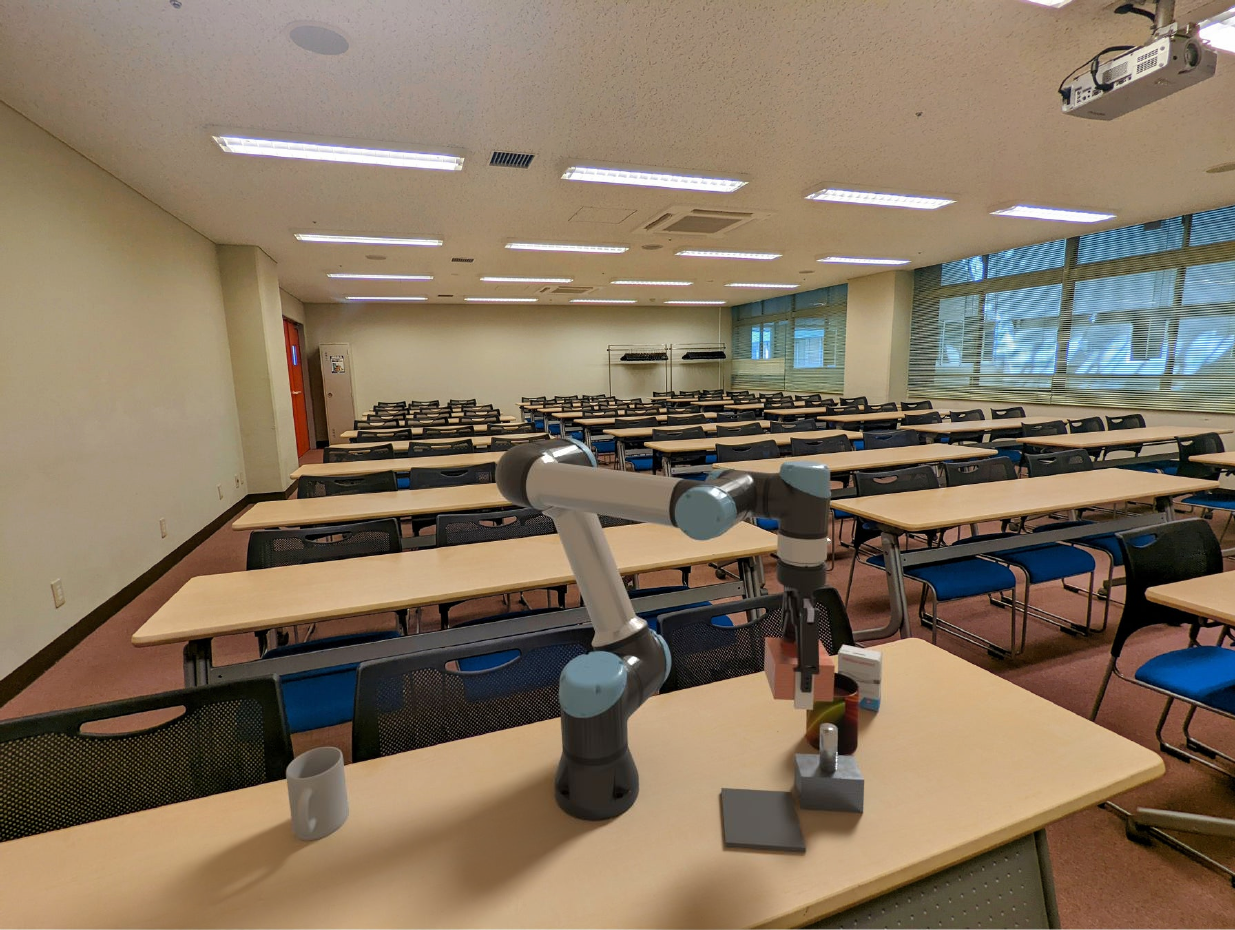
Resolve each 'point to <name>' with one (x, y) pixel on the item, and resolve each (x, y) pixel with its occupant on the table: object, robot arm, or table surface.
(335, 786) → the mug
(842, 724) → the mug
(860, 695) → the ink box
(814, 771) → the toggle switch
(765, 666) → the red square hollow block
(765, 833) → the mat
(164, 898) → the table surface
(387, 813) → the table surface
